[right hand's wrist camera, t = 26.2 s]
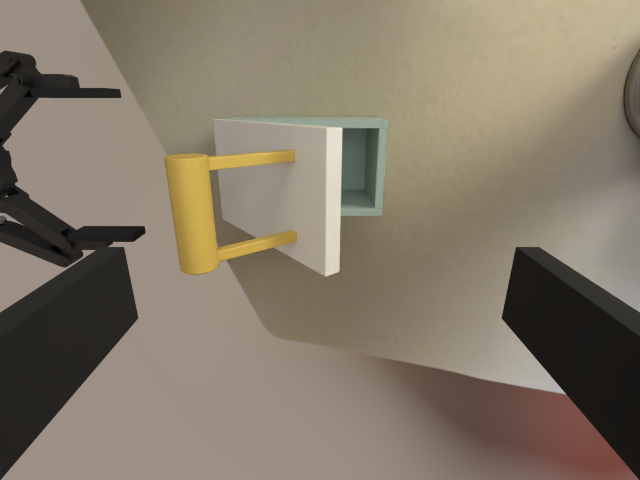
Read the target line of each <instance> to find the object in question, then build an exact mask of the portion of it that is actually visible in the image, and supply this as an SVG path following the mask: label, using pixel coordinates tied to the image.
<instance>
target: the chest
mask: <svg viewBox="0 0 640 480" xmlns="http://www.w3.org/2000/svg"><path fill="white" fill-rule="evenodd" d="M225 119H231V120H245V121H259V122H273V123H287V124H301V125H315V126H329V127H342V171H341V216H382V207H383V191H384V176H385V160H386V144H387V128H388V119H384V118H379V117H374V116H239V117H232V118H225Z"/></svg>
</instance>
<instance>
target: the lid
mask: <svg viewBox="0 0 640 480" xmlns="http://www.w3.org/2000/svg"><path fill="white" fill-rule="evenodd" d="M213 126H214V136H215V147H216V156H207V155H205V154H175V155H169V156H166V157H165V166H166V172H167V179H168V186H169V193H170V200H171V207H172V214H173V221H174V228H175V235H176V241H177V248H178V255H179V262H180V269H181V271H182V272H184V273H186V274H192V275H196V274H204V273H208V272H211V271H213V270H215V269H216V268H217V267H218V266H219V261H224V260H227V259H231V258H235V257H239V256H243V255H247V254H251V253H254V252H258V251H262V250H266V249H270V248H275V249H277V250H278V251H280V252H282V253H284V254H286V255H287V256H289V257H291V258H293V259H295V260H296V261H298V262H300V263H302V264H303V265H305V266H307V267H309V268H311V269H312V270H314V271H316V272H318V273H319V274H321V275H323V276H325V277H326V276H329V275H332V274H335V273H338V272H339V260H340V216H341V171H342V127H329V126H315V125H301V124H287V123H273V122H259V121H245V120H231V119H213ZM210 170H218V178H219V189H220V199H221V209H222V219H223V220H225V221H227V222H229V223H230V224H232V225H234V226H236V227H237V228H239V229H241V230H243V231H245V232H246V233H248V234H250V235H252V236H254V237H255V238H256V239H252V240H248V241H244V242H239V243H235V244H231V245H227V246H222V247H218V248H217V241H216V231H215V222H214V212H213V202H212V193H211V183H210V174H209V171H210Z"/></svg>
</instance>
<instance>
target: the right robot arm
mask: <svg viewBox="0 0 640 480" xmlns="http://www.w3.org/2000/svg"><path fill="white" fill-rule="evenodd" d="M625 109H626V114H627V117H628V120H629V122H630V124H631V126H632V128H633V129H634V131H635V132H636V133H637V134H638V135H639V136H640V51H639V52H638V54H637V56H636V58H635V60H634V62H633V64H632V66H631V69H630V72H629V74H628V78H627V82H626V87H625ZM137 319H138V314H137V309H136V305H135V300H134V295H133V290H132V285H131V280H130V275H129V270H128V265H127V260H126V255H125V250H124V247H101V248H99V249H97V250H96V251H95V252H93V253H91V254H90V255H88V256H87V257H85V258H84V259H82V260H81V261H79V262H77V263H76V264H74V265H73V266H71V267H70V268H68V269H67V270H65V271H64V272H62V273H60V274H59V275H57V276H56V277H54V278H53V279H51V280H50V281H48V282H47V283H45V284H44V285H42V286H40V287H39V288H37V289H36V290H34V291H33V292H31V293H30V294H28V295H27V296H25V297H24V298H22V299H21V300H19V301H17V302H16V303H14V304H13V305H11V306H10V307H8V308H7V309H5V310H4V311H2V312H1V313H0V480H1V479H2V478H3V476H4V475H5V474H6V473H7V472H8V471H9V469H10V468H11V467H12V466H13V465H14V463H15V462H16V461H17V460H18V459H19V458H20V456H21V455H22V454H23V453H24V452H25V451H26V449H27V448H28V447H29V446H30V445H31V444H32V442H33V441H34V440H35V439H36V438H37V436H38V435H39V434H40V433H41V432H42V431H43V429H44V428H45V427H46V426H47V425H48V424H49V422H50V421H51V420H52V419H53V418H54V417H55V415H56V414H57V413H58V412H59V411H60V409H61V408H62V407H63V406H64V405H65V404H66V402H67V401H68V400H69V399H70V398H71V397H72V395H73V394H74V393H75V392H76V391H77V389H78V388H79V387H80V386H81V385H82V384H83V382H84V381H85V380H86V379H87V378H88V377H89V375H90V374H91V373H92V372H93V371H94V370H95V368H96V367H97V366H98V365H99V364H100V362H101V361H102V360H103V359H104V358H105V357H106V355H107V354H108V353H109V352H110V351H111V350H112V348H113V347H114V346H115V345H116V344H117V343H118V341H119V340H120V339H121V338H122V337H123V336H124V334H125V333H126V332H127V331H128V330H129V329H130V327H131V326H132V325H133V324H134V323H135V321H136V320H137ZM502 319H503V320H504V321H505V323H506V324H507V325H508V326H509V327H510V329H511V330H512V331H513V332H514V333H515V334H516V336H517V337H518V338H519V339H520V340H521V341H522V343H523V344H524V345H525V346H526V347H527V348H528V350H529V351H530V352H531V353H532V354H533V356H534V357H535V358H536V359H537V360H538V361H539V363H540V364H541V365H542V366H543V367H544V368H545V370H546V371H547V372H548V373H549V374H550V375H551V377H552V378H553V379H554V380H555V381H556V382H557V384H558V385H559V386H560V387H561V388H562V390H563V391H564V392H565V393H566V394H567V395H568V397H569V398H570V399H571V400H572V401H573V402H574V404H575V405H576V406H577V407H578V408H579V409H580V411H581V412H582V413H583V414H584V415H585V416H586V418H587V419H588V420H589V421H590V422H591V424H592V425H593V426H594V427H595V428H596V429H597V431H598V432H599V433H600V434H601V435H602V436H603V438H604V439H605V440H606V441H607V442H608V443H609V445H610V446H611V447H612V448H613V449H614V451H615V452H616V453H617V454H618V455H619V456H620V458H621V459H622V460H623V461H624V462H625V463H626V465H627V466H628V467H629V468H630V469H631V470H632V472H633V473H634V474H635V475H636V476H637V477H638V479H639V480H640V312H638V311H636V310H635V309H633V308H632V307H630V306H629V305H627V304H626V303H624V302H623V301H621V300H620V299H618V298H616V297H615V296H613V295H612V294H610V293H609V292H607V291H606V290H604V289H603V288H601V287H600V286H598V285H596V284H595V283H593V282H592V281H590V280H589V279H587V278H586V277H584V276H583V275H581V274H579V273H578V272H576V271H575V270H573V269H572V268H570V267H569V266H567V265H566V264H564V263H563V262H561V261H559V260H558V259H556V258H555V257H553V256H552V255H550V254H549V253H547V252H546V251H544V250H543V249H541V248H539V247H516V250H515V255H514V260H513V265H512V270H511V275H510V280H509V285H508V290H507V295H506V299H505V304H504V309H503V314H502Z"/></svg>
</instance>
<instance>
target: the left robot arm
mask: <svg viewBox="0 0 640 480" xmlns="http://www.w3.org/2000/svg"><path fill="white" fill-rule="evenodd" d="M35 66H36V61H35V59H34V58H33V56H31V55H29V54H23V53H17V52H11V51H3V52H2V53H0V89H2V88H3V87H5V86H7V85H8V86H7V87H6V88H5V89H4V91H3V92H2V93H1V94H0V213H6V214H8V215H9V216H11V217H12V218H14V219H15V220H17V221H18V222H20V223H21V224H23V225H24V226H23V225H21V224H18V223H15V222H12V221H6V220H7V219H6V217H5V216H0V242H2V243H4V244H7V245H9V246H12V247H14V248H17V249H19V250H22V251H24V252H26V253H29V254H32V255H34V256H36V257H39V258H41V259H44V260H46V261H49V262H51V263H54V264H56V265H58V266H61V267H67V266H69V265H71V264H72V263H74V262H75V261H77V260H78V259H80V258H82V256H83V252H82V251H81V250H97V249H99V248H101V247H108V246H110V245H111V244H113V242H134V241H135V240H136V239H138V238H139V237H141V236H142V235H143V234H145V227H144V226H84V227H82V228H80V229H78V230H76V229H74V228H73V227H71V226H70V225H68V224H67V223H65V222H64V221H62V220H61V219H59V218H58V217H56V216H55V215H53V214H52V213H50V212H49V211H47V210H46V209H44V208H43V207H41V206H40V205H38V204H37V203H35V202H34V201H32V200H31V199H30V198H29V195H28V194H27V193H26V192H24V191H23V190H21V189H20V188H18V187H17V186H15V182H18V180H17V177H16V174H15V172H14V170H13V168H12V167H11V156H10V153H9V151H6V150H5V149H4V147H3V146H2V145H3V144H4V143H5V142H6V140H7V139H8V138H9V137H10V136H11V133H10V132H11V130H12V129H13V128H14V127H15V125H16V124H17V123H18V122H19V121H20V119H21V118H22V117H23V116H24V115H25V113H26V112H27V111H28V110H29V109H30V108H31V106H32V105H33V104H34V103H35V102H36V100H37V99H38V98H121V92H120V89H109V88H80V86H79V82H78V78H77V77H75V76H72V75H64V74H41V73H40V72H39V71H38V70H37V69H36V67H35ZM5 196H9V197H5ZM4 197H5V198H4Z"/></svg>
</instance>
